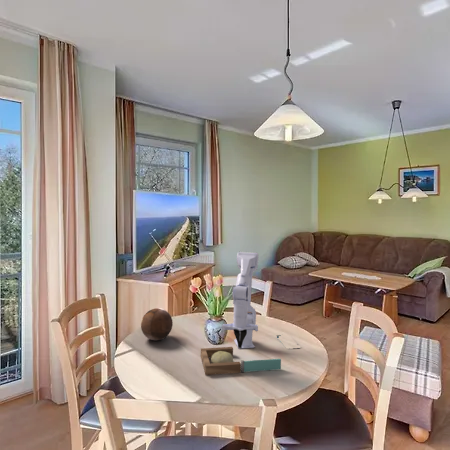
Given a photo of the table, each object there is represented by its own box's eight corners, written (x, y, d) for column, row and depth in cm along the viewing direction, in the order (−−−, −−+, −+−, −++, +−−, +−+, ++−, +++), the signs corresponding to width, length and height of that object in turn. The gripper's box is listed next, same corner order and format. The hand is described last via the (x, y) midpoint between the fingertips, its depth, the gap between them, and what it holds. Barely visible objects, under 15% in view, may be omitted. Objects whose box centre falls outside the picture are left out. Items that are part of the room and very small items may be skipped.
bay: (200, 356, 143) (200, 348, 143) (232, 354, 146) (232, 346, 146) (205, 375, 128) (205, 366, 127) (240, 372, 130) (240, 363, 130)
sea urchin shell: (218, 352, 144) (229, 342, 140) (228, 368, 141) (239, 359, 137) (204, 359, 137) (215, 350, 133) (214, 377, 134) (226, 367, 130)
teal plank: (241, 372, 130) (241, 362, 130) (240, 370, 131) (240, 360, 131) (280, 369, 133) (281, 359, 133) (279, 367, 134) (280, 357, 134)
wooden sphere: (177, 335, 166) (177, 306, 165) (164, 347, 151) (164, 315, 150) (149, 331, 169) (150, 303, 168) (134, 343, 155) (135, 312, 154)
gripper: (223, 317, 132) (222, 350, 132) (259, 318, 132) (258, 351, 133) (222, 312, 139) (222, 343, 139) (257, 312, 139) (256, 344, 140)
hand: (239, 347), depth 136 cm, fingers closed
